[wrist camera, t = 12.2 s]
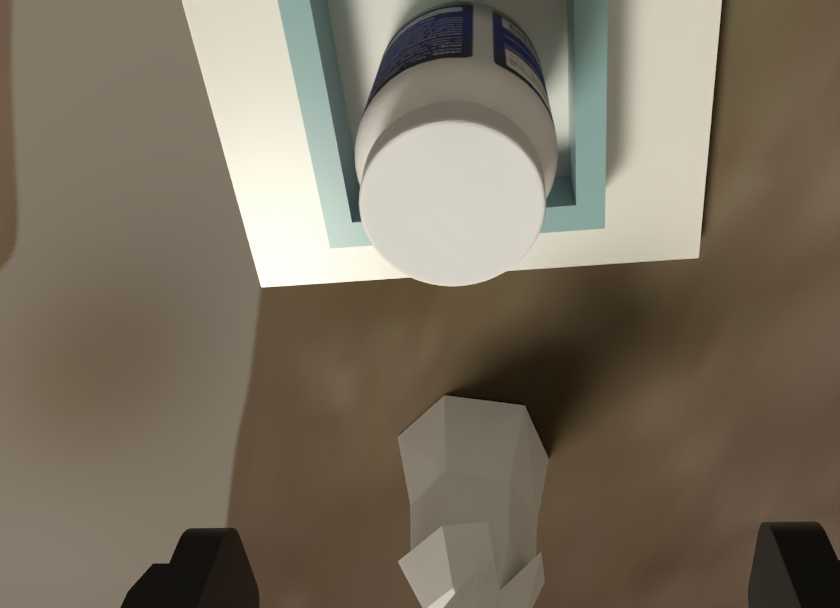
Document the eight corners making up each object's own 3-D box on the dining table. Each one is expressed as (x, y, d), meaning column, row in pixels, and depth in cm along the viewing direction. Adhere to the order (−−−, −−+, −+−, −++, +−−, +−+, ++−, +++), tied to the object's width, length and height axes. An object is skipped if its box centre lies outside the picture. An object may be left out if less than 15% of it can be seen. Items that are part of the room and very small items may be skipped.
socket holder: (733, -230, 22) (770, -233, 20) (693, 245, 31) (714, 292, 28) (153, -147, 25) (109, -138, 22) (266, 275, 33) (246, 321, 30)
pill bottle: (370, 142, 29) (324, 284, 20) (392, -18, 25) (347, 74, 17) (521, 169, 29) (536, 321, 21) (561, 13, 26) (598, 120, 17)
